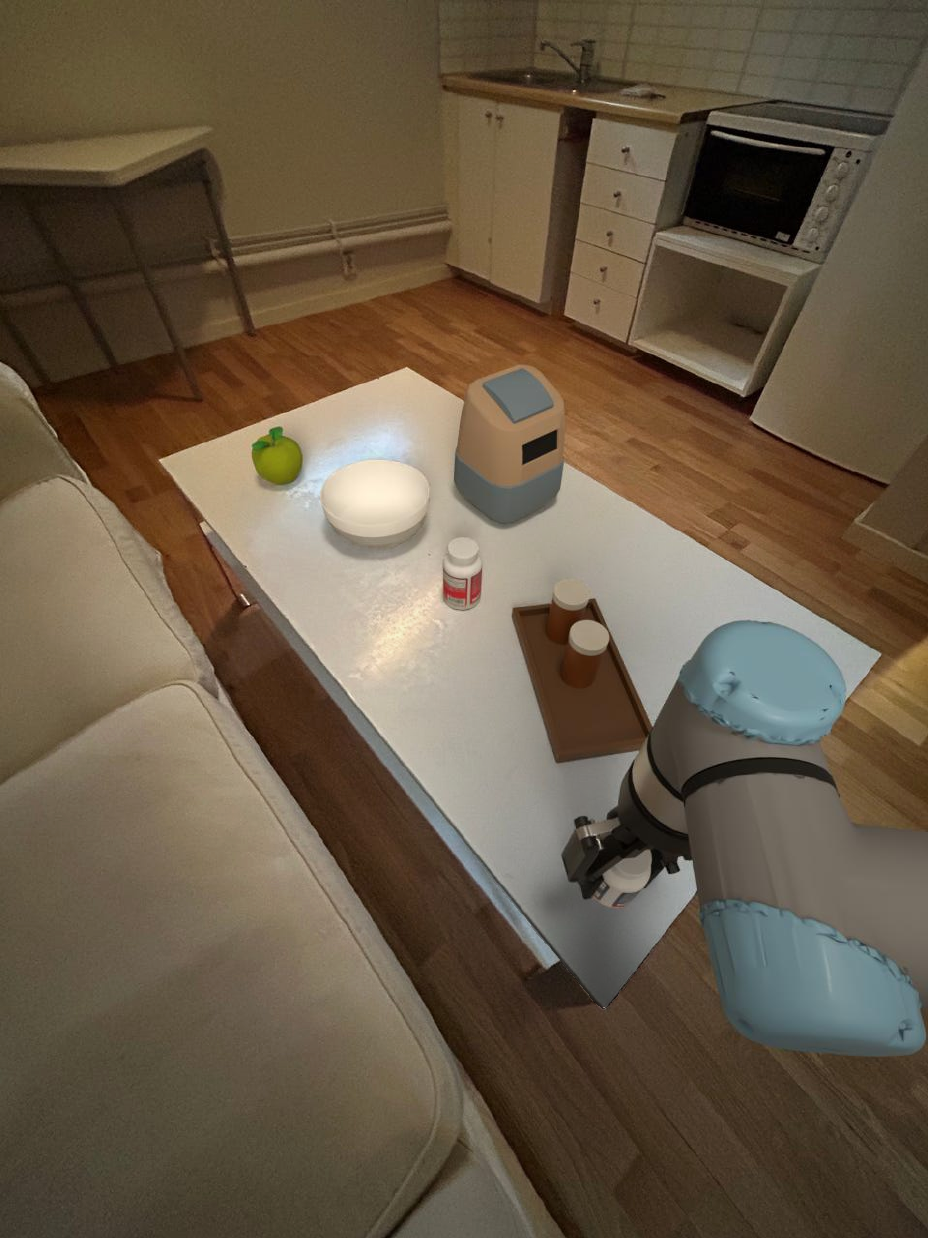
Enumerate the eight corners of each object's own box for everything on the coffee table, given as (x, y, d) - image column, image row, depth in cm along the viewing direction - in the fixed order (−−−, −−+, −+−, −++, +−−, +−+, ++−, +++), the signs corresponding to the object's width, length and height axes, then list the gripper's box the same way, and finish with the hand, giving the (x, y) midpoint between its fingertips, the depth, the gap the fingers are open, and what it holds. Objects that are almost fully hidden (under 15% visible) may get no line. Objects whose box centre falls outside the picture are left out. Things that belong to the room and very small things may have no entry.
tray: (654, 748, 72) (659, 740, 70) (556, 763, 70) (558, 756, 69) (592, 606, 88) (595, 598, 87) (511, 616, 87) (512, 607, 85)
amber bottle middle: (600, 686, 78) (615, 647, 71) (565, 691, 77) (576, 652, 70) (588, 657, 81) (601, 617, 74) (555, 662, 80) (565, 622, 73)
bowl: (408, 488, 108) (406, 449, 101) (448, 547, 97) (448, 507, 90) (315, 513, 102) (306, 473, 95) (346, 577, 91) (338, 538, 85)
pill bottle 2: (640, 869, 58) (665, 840, 52) (628, 918, 55) (653, 894, 48) (592, 847, 60) (610, 816, 53) (578, 894, 56) (596, 867, 50)
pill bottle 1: (474, 580, 91) (476, 530, 83) (485, 606, 88) (489, 556, 79) (438, 588, 90) (437, 537, 82) (448, 614, 86) (448, 564, 78)
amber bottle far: (582, 642, 83) (595, 602, 76) (549, 647, 82) (559, 606, 75) (572, 617, 86) (583, 576, 79) (540, 621, 85) (549, 580, 78)
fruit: (250, 487, 107) (235, 442, 99) (278, 462, 112) (265, 417, 105) (289, 499, 105) (277, 453, 97) (316, 473, 110) (306, 428, 103)
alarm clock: (501, 537, 99) (513, 419, 81) (445, 492, 107) (445, 377, 89) (565, 502, 106) (588, 387, 88) (508, 463, 114) (519, 350, 96)
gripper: (768, 724, 43) (676, 830, 61) (547, 758, 41) (517, 858, 58) (824, 816, 38) (707, 902, 56) (578, 860, 36) (535, 936, 54)
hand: (610, 880), depth 57 cm, fingers closed on pill bottle 2, 5 cm apart
